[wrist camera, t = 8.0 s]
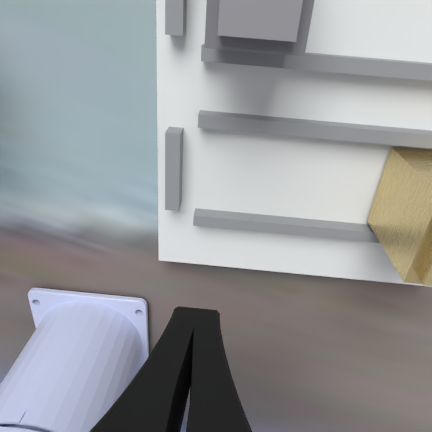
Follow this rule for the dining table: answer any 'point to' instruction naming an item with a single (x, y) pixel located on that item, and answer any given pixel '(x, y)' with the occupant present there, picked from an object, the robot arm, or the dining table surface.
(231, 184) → the control board
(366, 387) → the dining table surface
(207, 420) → the robot arm
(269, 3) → the slider graphite
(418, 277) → the slider brass
